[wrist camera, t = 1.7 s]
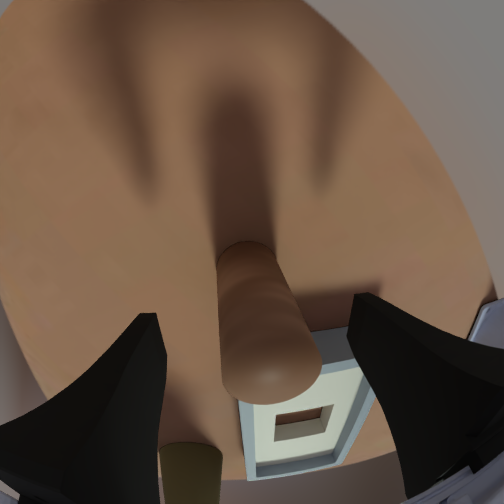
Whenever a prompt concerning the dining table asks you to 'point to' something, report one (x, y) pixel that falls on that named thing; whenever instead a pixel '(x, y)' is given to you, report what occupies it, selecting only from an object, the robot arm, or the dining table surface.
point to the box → (311, 431)
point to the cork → (191, 473)
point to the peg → (261, 329)
